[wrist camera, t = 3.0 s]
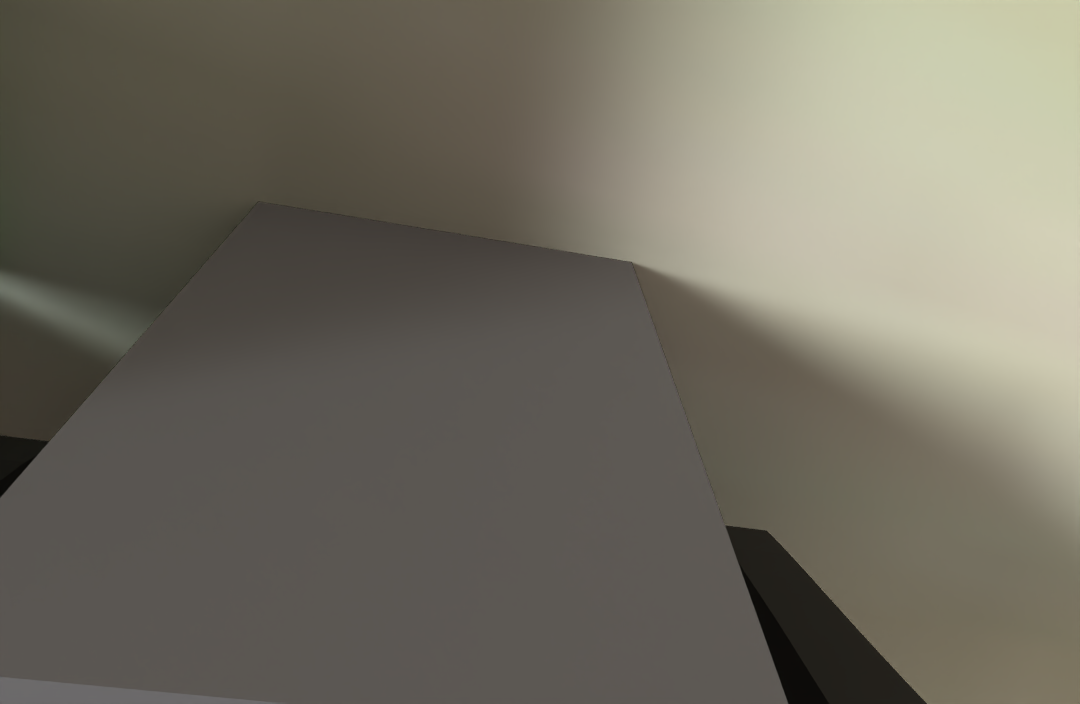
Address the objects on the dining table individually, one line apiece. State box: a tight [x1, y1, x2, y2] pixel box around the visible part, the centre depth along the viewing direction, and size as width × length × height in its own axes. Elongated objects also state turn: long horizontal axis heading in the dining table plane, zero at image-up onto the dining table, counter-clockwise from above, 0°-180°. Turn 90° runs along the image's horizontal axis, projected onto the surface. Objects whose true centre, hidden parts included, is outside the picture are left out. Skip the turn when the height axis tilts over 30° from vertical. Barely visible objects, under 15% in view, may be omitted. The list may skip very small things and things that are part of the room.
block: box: [0, 202, 788, 704], centre depth 8 cm, size 6×4×6 cm, turn 170°
